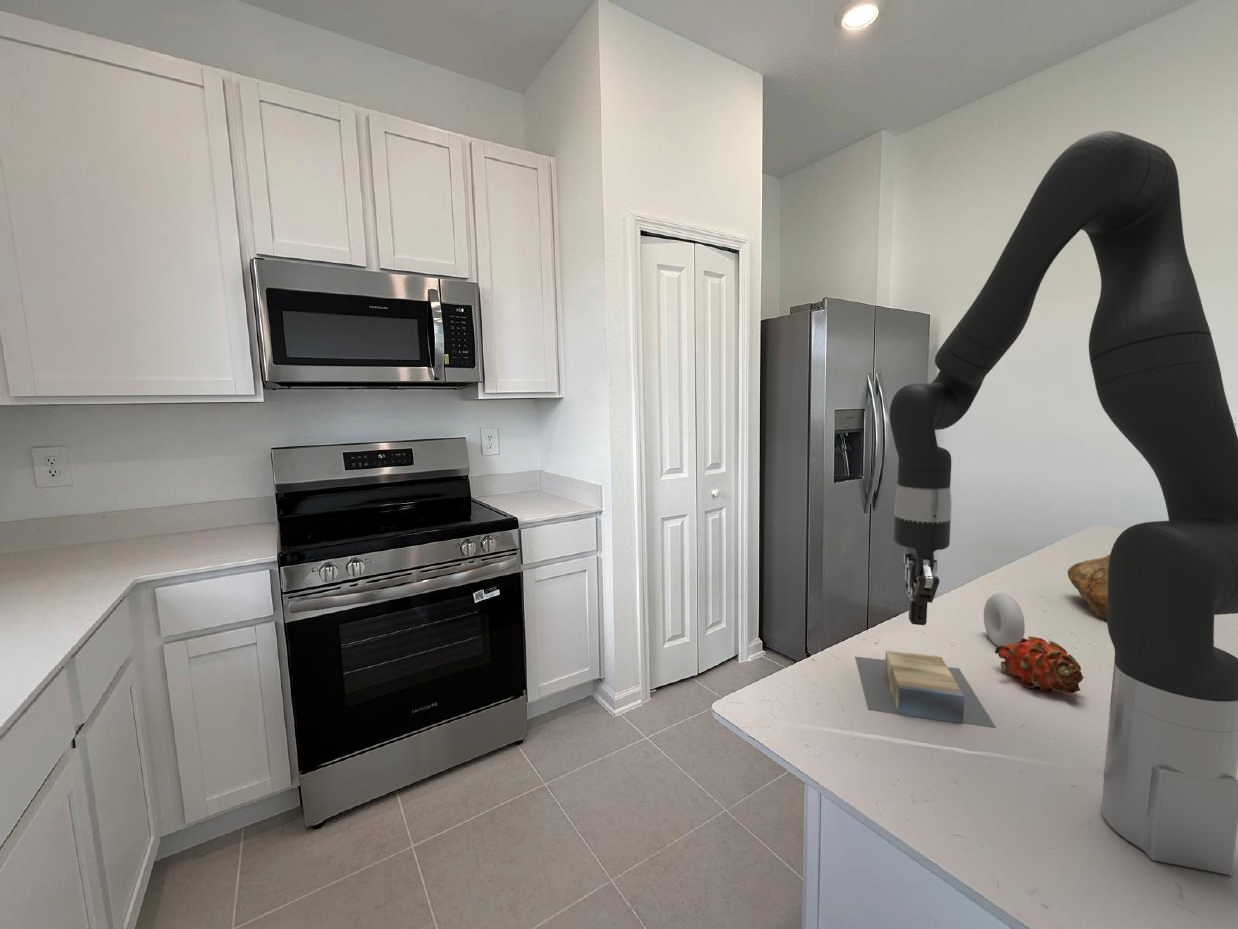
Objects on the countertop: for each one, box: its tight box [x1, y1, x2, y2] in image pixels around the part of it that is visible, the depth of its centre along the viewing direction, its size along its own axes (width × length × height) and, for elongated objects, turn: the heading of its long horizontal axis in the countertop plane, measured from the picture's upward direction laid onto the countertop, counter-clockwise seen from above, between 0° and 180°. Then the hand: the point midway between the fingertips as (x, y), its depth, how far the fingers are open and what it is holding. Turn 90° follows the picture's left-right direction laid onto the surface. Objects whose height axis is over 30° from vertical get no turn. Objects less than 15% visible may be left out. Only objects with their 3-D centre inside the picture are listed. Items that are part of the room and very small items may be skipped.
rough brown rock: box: [1067, 554, 1110, 621], centre depth 112 cm, size 23×17×15 cm
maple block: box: [884, 650, 964, 724], centre depth 81 cm, size 4×8×12 cm
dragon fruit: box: [992, 636, 1085, 694], centre depth 84 cm, size 8×8×12 cm
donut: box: [983, 592, 1026, 648], centre depth 97 cm, size 10×3×10 cm, turn 168°
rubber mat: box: [854, 656, 997, 729], centre depth 83 cm, size 17×16×1 cm
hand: (917, 622), depth 84 cm, fingers closed
